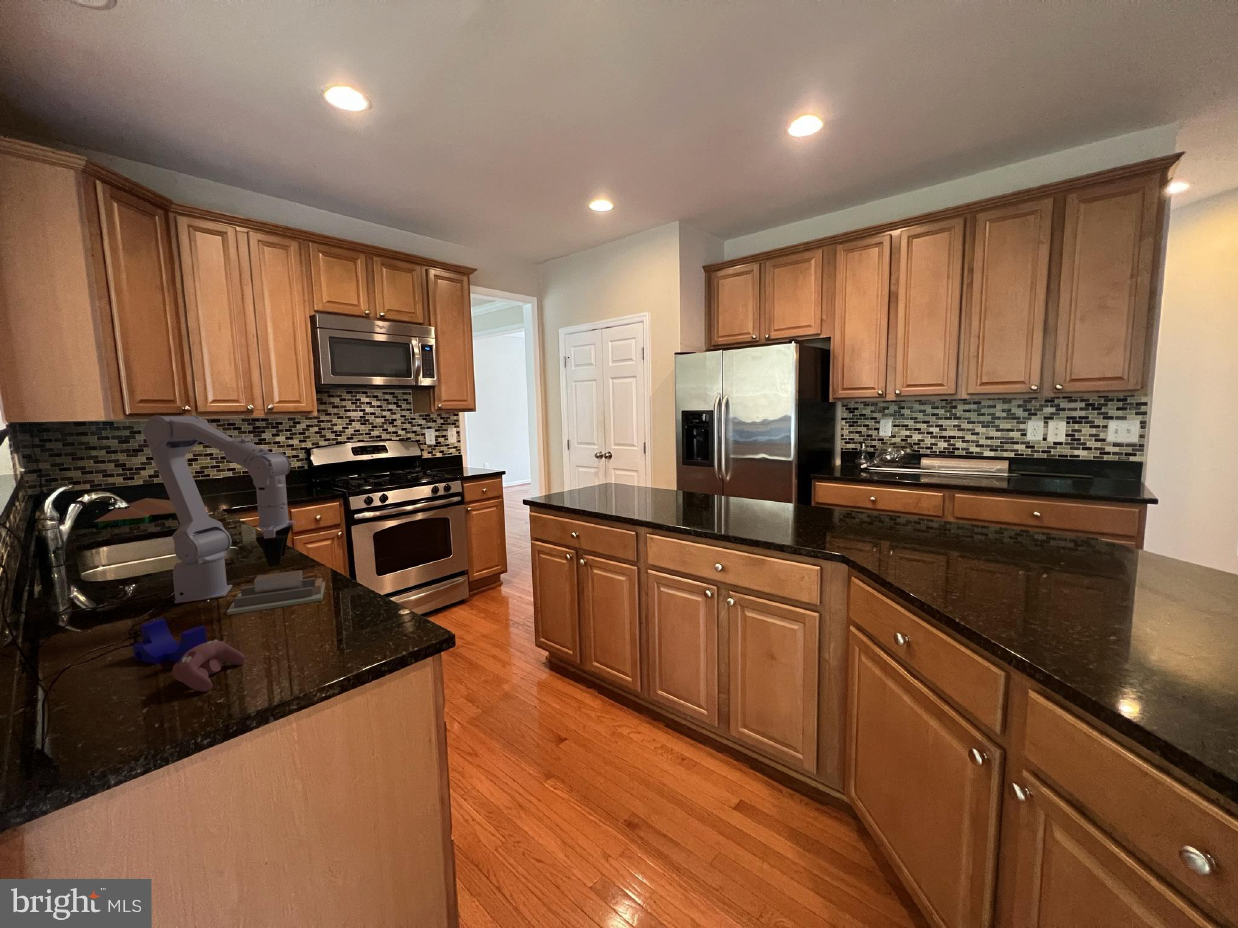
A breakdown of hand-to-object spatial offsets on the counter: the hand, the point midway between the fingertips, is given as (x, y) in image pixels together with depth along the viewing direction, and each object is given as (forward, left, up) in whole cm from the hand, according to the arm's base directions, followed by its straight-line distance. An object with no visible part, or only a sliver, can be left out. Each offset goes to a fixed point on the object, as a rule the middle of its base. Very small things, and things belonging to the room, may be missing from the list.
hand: (277, 560), depth 117 cm
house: (-63, +131, -10) cm, 146 cm away
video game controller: (-5, -37, -10) cm, 38 cm away
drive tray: (0, 0, -9) cm, 9 cm away
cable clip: (-13, -25, -10) cm, 30 cm away
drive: (0, 0, -9) cm, 9 cm away
